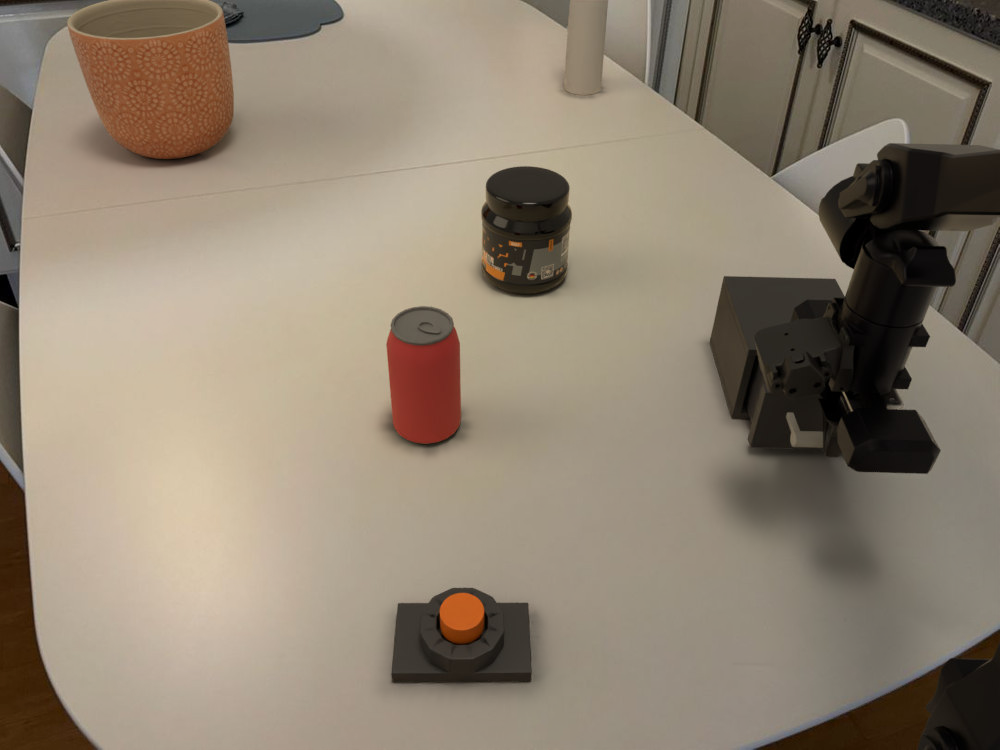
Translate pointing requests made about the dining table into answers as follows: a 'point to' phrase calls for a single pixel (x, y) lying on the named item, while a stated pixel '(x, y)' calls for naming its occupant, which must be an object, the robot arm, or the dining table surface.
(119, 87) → the planter
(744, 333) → the small storage cabinet
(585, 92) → the bottle
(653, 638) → the dining table surface
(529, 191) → the supplement container
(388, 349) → the beer can
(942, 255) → the robot arm
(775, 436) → the drawer
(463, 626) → the button
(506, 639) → the control block
